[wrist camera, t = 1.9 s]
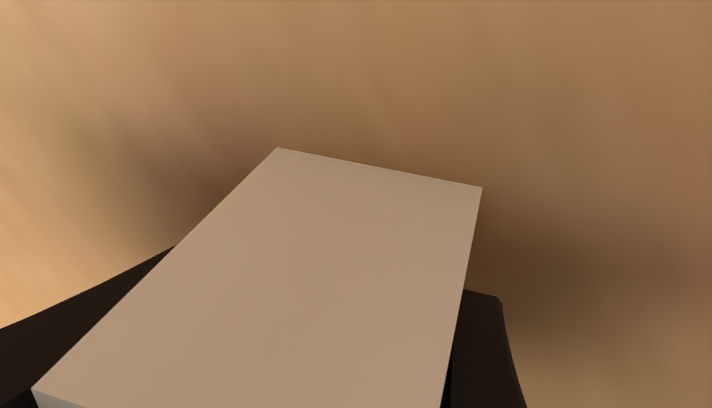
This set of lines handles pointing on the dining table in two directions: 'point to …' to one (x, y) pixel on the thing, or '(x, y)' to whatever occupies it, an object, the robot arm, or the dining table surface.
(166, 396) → the peg
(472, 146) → the dining table surface
